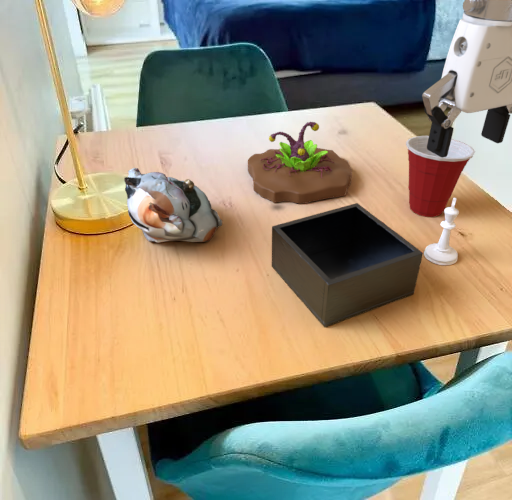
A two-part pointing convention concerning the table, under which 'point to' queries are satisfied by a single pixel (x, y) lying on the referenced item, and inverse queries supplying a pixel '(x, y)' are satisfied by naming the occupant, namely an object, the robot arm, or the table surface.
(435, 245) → the chess piece
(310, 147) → the plant
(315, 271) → the dark grey open box
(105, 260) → the table surface
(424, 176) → the plastic cup
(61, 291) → the table surface
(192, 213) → the lucky cat figurine
